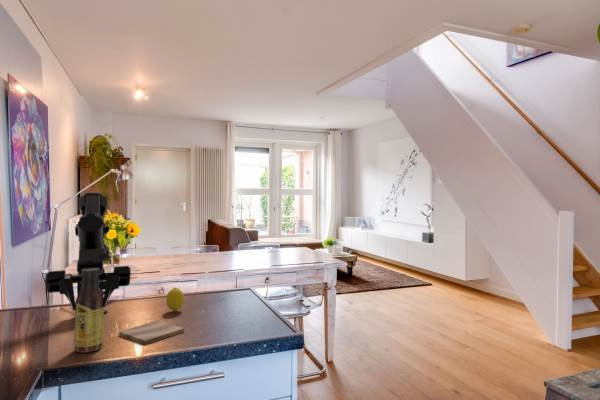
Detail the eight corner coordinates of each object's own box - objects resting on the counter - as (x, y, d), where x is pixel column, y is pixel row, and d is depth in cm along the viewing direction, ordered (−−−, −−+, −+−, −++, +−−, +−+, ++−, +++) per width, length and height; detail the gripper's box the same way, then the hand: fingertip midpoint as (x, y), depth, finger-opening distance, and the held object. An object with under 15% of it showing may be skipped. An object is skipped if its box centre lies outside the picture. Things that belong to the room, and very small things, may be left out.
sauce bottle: (70, 349, 92) (71, 268, 92) (98, 342, 96) (98, 265, 97) (79, 356, 87) (79, 271, 88) (107, 349, 92) (108, 268, 92)
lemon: (178, 314, 121) (178, 289, 122) (163, 313, 123) (163, 288, 123) (186, 309, 127) (187, 286, 127) (172, 308, 128) (172, 285, 128)
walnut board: (119, 335, 102) (119, 331, 102) (158, 323, 112) (158, 320, 112) (145, 344, 95) (145, 340, 95) (184, 331, 105) (184, 328, 105)
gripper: (46, 238, 91) (39, 293, 81) (130, 235, 100) (133, 284, 90) (50, 266, 98) (44, 319, 88) (128, 261, 107) (130, 309, 97)
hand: (89, 307), depth 91 cm, fingers closed on sauce bottle, 6 cm apart
